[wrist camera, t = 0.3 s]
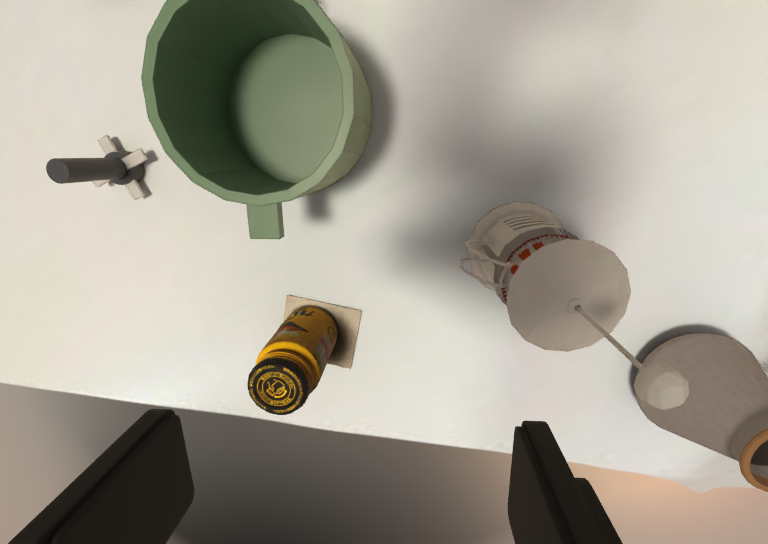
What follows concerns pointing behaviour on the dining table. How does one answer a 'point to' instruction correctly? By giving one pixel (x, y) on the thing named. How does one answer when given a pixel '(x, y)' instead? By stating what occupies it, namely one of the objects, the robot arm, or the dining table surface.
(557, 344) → the french press
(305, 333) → the condiment
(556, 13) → the dining table surface
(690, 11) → the dining table surface
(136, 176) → the blade
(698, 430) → the coffee pot
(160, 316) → the dining table surface
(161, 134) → the chamber
